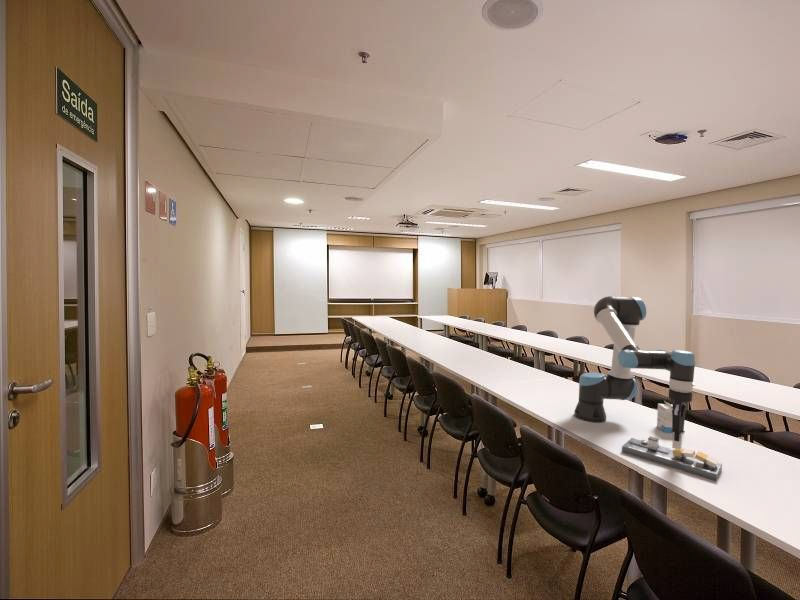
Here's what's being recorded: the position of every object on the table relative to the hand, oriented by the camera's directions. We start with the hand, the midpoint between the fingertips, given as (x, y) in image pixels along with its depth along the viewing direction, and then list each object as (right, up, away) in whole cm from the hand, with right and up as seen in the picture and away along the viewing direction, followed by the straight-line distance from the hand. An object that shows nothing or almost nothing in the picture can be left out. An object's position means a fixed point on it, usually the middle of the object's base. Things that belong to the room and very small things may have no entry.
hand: (676, 448), depth 153 cm
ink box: (+22, -5, +35) cm, 41 cm away
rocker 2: (+6, -2, -7) cm, 9 cm away
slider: (-6, -2, +6) cm, 8 cm away
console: (-2, -6, +2) cm, 6 cm away
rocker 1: (+2, -1, -2) cm, 3 cm away
